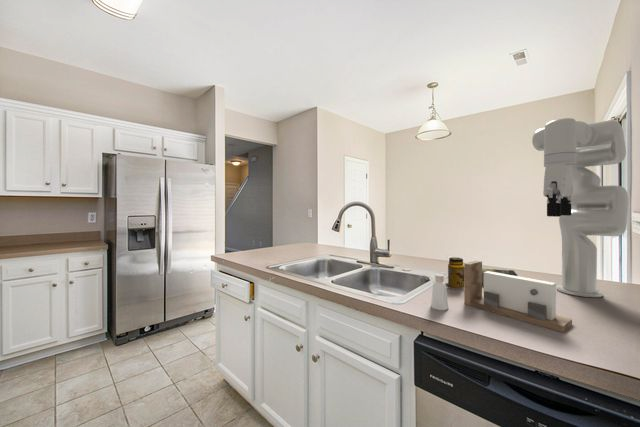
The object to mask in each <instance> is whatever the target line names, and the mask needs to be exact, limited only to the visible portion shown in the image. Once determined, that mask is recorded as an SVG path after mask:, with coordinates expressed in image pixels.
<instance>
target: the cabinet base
mask: <svg viewBox="0 0 640 427" xmlns="http://www.w3.org/2000/svg"><path fill="white" fill-rule="evenodd" d="M463 265H464V295H463V296H464V298H463V299H464V301H463V302H464V305H468V306H472V307H475V308H478V309H481V310H485V311H488V312H491V313H494V314H498V315H502V316H506V317H509V318H512V319H516V320H519V321H522V322H527V323H529V324H532V325H537V326H540V327H543V328H546V329H550V330H554V331H557V332H560V333H564V332H565V331H567V330H568V329H569V328H571V326H572V325H573V319H572V318H568V317H565V316H561V315H557V314H556V318H554V319H553V320H549V319H546V306H545V305H541V304H537V303H533V302H528V314H527V313H523V312H519V311H516V310H512V309H508V308H504V307H501V306H499V294H495V293H491V292H487V291H485V292H484V291H483V285H482V268H483V261H481V260H473V261H469V262H466V263H464V262H463Z"/></svg>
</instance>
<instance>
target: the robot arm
mask: <svg viewBox="0 0 640 427" xmlns="http://www.w3.org/2000/svg"><path fill="white" fill-rule="evenodd" d="M531 139H532V140H531V141H532V145H533V148H534V149H535V150H537V151H538V152H539V151H540V152H541V151H543V167H544V169H545V170H544V177H543V191H542V194H543V197H545V198H547V199H546V216H547V217H555V218H556V217H557V218H558V222H559V228H560V234H561V284H558V285H557V284H556V291H559V292H561V293H563V294H567V295H571V296H578V297H585V298H601V297H603V291H601V290H598V289H597V276H598V275H597V273H598V272H597V270H598V269H597V265H598V263H597V261H598V260H597V259H598V256H597V255H598V248H597V246H596V244H595V243H594V241H592V240H591V239H590V238H589V237H588V236H595V237H596V236H598V237H620V236H622V235H624V234H625V232H626V230H627V224H628V211H629V210H628V209H629V208H628V207H629V195H628V194H629V193H628V192H627V190H626V188H625V187H623V186H621V185H601V177H600V176H599V175H598V174H597V173H595V172H594V171H593V170H591V169H589V168H588V167H597V166H600V167H601V166H607V165H608V166H609V165H610V166H611V165H616V164H617V165H618V164H619V163H622V162H623V161H624V160H625V159H626V154H627V148H626V147H627V146H626V142H625V134H624V130H623V127H622V125H621V123H620V122H619V121H617V120H615V119H609V120H603V121H598V122H593V123H586V122H584V121H581V120H579V121H578V120H576V119H574V118H572V117H571V118H570V117H567V118H566V117H565V118H558V119H554V120H551V121H549V122H547V123H545V125H544V127H542V128H539V129H537V130H536V131H535V132H534V133H533V135H532V138H531Z"/></svg>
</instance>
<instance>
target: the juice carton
mask: <svg viewBox="0 0 640 427" xmlns="http://www.w3.org/2000/svg"><path fill="white" fill-rule="evenodd" d="M486 271H491V272H496V273H502V274H508V275H513V276H519V275H518V274H517V273H516V271H514V270H512V269H509V270H505V269H497V268H496V269H493V268H483V267H482V286H484V272H486Z"/></svg>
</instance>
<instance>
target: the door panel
mask: <svg viewBox="0 0 640 427" xmlns="http://www.w3.org/2000/svg"><path fill="white" fill-rule="evenodd" d="M485 291H487V292H491V293H495V294H499V306H501V307H504V308H508V309H512V310H516V311H519V312H523V313H527V314H528V302H533V303H537V304H541V305H545V306H546V319H549V320H553V319H554V318H556V315H557V314H556V312H557V308H556V307H557V306H556V304H557V301H556V300H557V298H556V297H557V295H556V294H557V292H556V291H557V283H556V282H551V281H547V280H542V279H541V280H540V279H535V278H529V277H524V276H519V275H518V276H513V275H508V274H502V273H496V272H491V271H486V272H484V285H483V293H484V292H485Z"/></svg>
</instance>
